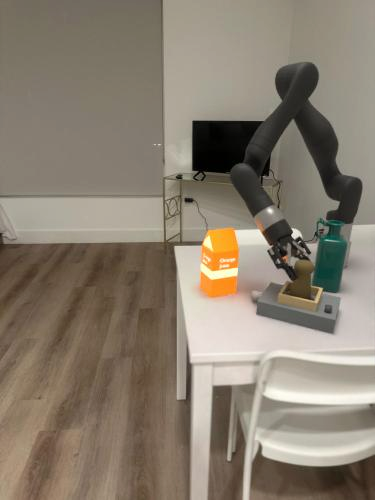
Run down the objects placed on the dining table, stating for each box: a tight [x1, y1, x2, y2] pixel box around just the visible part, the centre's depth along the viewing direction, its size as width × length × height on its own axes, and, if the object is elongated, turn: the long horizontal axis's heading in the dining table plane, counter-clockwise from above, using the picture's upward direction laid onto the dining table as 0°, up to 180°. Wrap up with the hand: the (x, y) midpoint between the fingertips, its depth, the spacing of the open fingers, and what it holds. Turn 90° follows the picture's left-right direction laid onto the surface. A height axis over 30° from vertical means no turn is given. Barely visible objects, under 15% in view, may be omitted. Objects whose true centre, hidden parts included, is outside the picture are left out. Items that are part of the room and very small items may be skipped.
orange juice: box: [199, 227, 240, 299], centre depth 109 cm, size 8×9×20 cm
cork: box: [289, 259, 314, 300], centre depth 98 cm, size 6×6×11 cm
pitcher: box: [311, 217, 348, 293], centre depth 114 cm, size 10×8×22 cm
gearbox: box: [250, 280, 342, 335], centre depth 101 cm, size 24×14×6 cm, turn 63°
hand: (304, 275), depth 97 cm, fingers open, 8 cm apart
